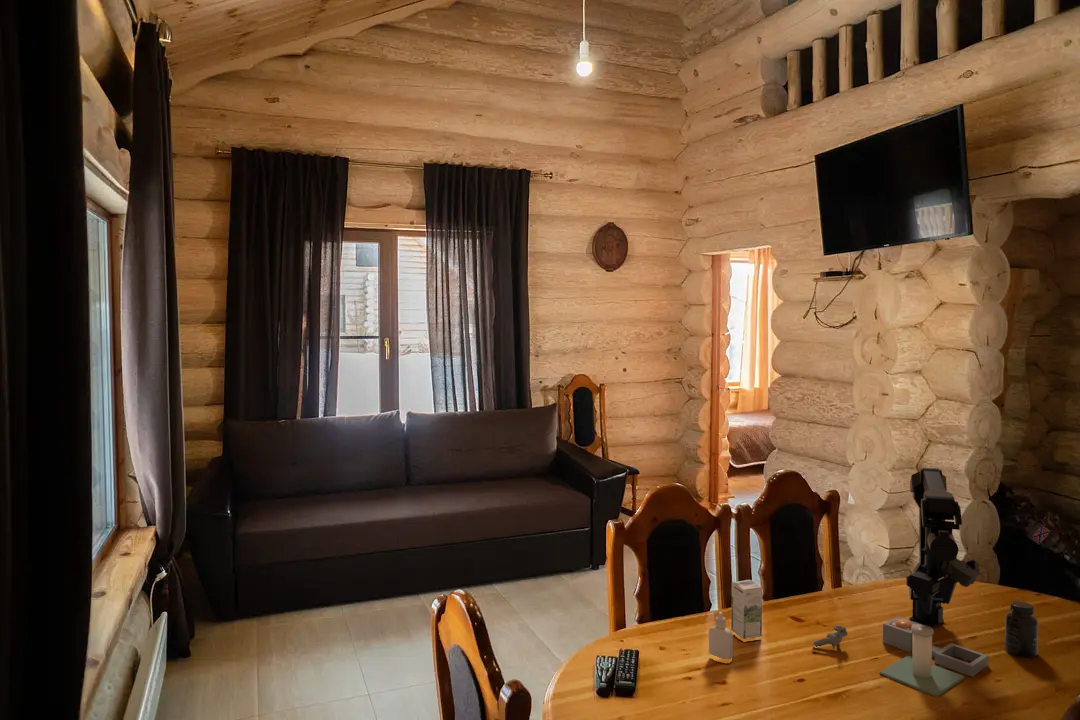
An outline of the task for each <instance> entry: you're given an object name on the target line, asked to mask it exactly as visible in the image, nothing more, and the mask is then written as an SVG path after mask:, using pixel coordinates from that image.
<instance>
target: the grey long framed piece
mask: <svg viewBox="0 0 1080 720" xmlns="http://www.w3.org/2000/svg"><path fill="white" fill-rule="evenodd" d="M896 619H904V618H903V617H899V616H895V617H894V618H891V619H889V620H888V621H886V622H884V623H882V643H883V644H885V643H886V644H885V645H888V646H890V645H891V647H893V646H894V648H896V647H897V648H896V649H899V648H900V649H899V650H901V649H903V650H902V651H904V650H905V651H904V652H907V651H908V652H907V653H910V652H911V651H912V646H913V632H912V631H911V630H909V631H908V630H905V629H902V628H899V627H896V626H893V625H891V623H893V622H895V620H896ZM910 621H911V620H910ZM911 622H912V623H913V624H915V625H917V624H918V625H922V624H920V623H917V622H914V621H911ZM911 653H912V652H911ZM955 657H957V658H955ZM932 658H934V664H936V665H938V666H940V667H941V666H942V667H945V668H947V669H950V670H951V671H955V672H958V673H959V674H960V673H961V674H963V675H966V676H969V677H971V676H972V677H974V676H975V675H977V674H978V673H979V672H981V671H983V670H984V669H986V668H988V666H989V655H988V654H984V653H982V652H979V651H976V650H972V649H970V648H967V647H964V646H961V645H957V644H954V643H952V642H951V643H949V644H947V645H946V646H944V647H943V648H941V647H939V646H935V645H933V644H932ZM959 658H960V659H959ZM961 659H962V660H961ZM964 660H965V661H964ZM966 661H967V662H966ZM968 661H969V662H968ZM985 667H986V668H985ZM976 673H977V674H976Z"/></svg>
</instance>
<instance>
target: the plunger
mask: <svg viewBox="0 0 1080 720" xmlns="http://www.w3.org/2000/svg"><path fill="white" fill-rule="evenodd" d="M912 622H913V621H912ZM912 622H911V620H909V619H906V618H903V619H896V620H895V622H893V623H891V625H893V626H896V627H899V628H902V629H905V630H908V631H909V630H911V626H912V625H915V624H913V623H912Z"/></svg>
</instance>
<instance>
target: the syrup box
mask: <svg viewBox="0 0 1080 720" xmlns="http://www.w3.org/2000/svg"><path fill="white" fill-rule="evenodd" d="M730 611H731V614H730V615H731V618H730V619H731V621H730V627H731V630H732V631H733V632H735V633H736V634H737V635H739V636H740V637H741V638H743V639H747V638H755V637H760V636H762V637H763V634H762V633H763V629H762V628H763V626H762V625H763V587H762V586H761V585H760V584H758V582H755V581H753V580H751V579H745V580H740V581H734V582H733V581H732V582H731V609H730ZM731 630H730V631H731Z"/></svg>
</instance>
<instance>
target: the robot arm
mask: <svg viewBox="0 0 1080 720" xmlns="http://www.w3.org/2000/svg"><path fill="white" fill-rule="evenodd" d="M909 481H910V482H909V491H910V493H912V498H913V500H914V502H915V504H916V506H917V507H918V536H919V537H918V540H919V541H918V544H919V545H918V548H919V549H918V555H919V556H918V559H919V560H918V561H919V562H918V563H917V564H916V565H915V567H914V568H913V570H912V573H911V574H910V575H908V576H907V577H906V579H905V583H906V584H905V585H906V586H907V587H908V592H909V593H908V595H909V599H910V600H911V601H912V612H911V613H912V614H911V615H912V616H910V617H909V618H908V620H909V621H912V622H915V623H918V624H921V625H925V626H929V627H931V628H935V627H937V626H938V625H940V624H942V623H944V621H945V619H944V607H943V606H942V604H944V605H945V604H947V605H949V604H950V602H951V600H952V598H953V597H952V596H953V594H954V592H955V588H956V587H957V584H959V585H960V586H962V587H965V588H968V587H970V586H971V585H973V584H974V583H975V582H976V579H977V577H979V576H980V575H981V573H980V571H981V570H980V567H979V566H980V565H979V562H978V561H977V560H975V559H973V558H972V559H969V560H967V561H965V560H959V559H958V557H957V556H958V554H959V547H958V543H957V542H956V539H955V536H954V534H953V530H955V531H956V530H957V531H960V530H961V529H960V527H961V526H962V524H963V519H962V511H961V505H960V504H959V502H958V501H957V500H955V497H954V495H953V494H952V493H951V492H948V487H947V486H948V485H947V476H945V475H944V474H943V470H942V469H939V468H938V467H937V468H935V467H922V468H920V469H919V471H917V472H915V473H913V474H911V476H910V480H909Z"/></svg>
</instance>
